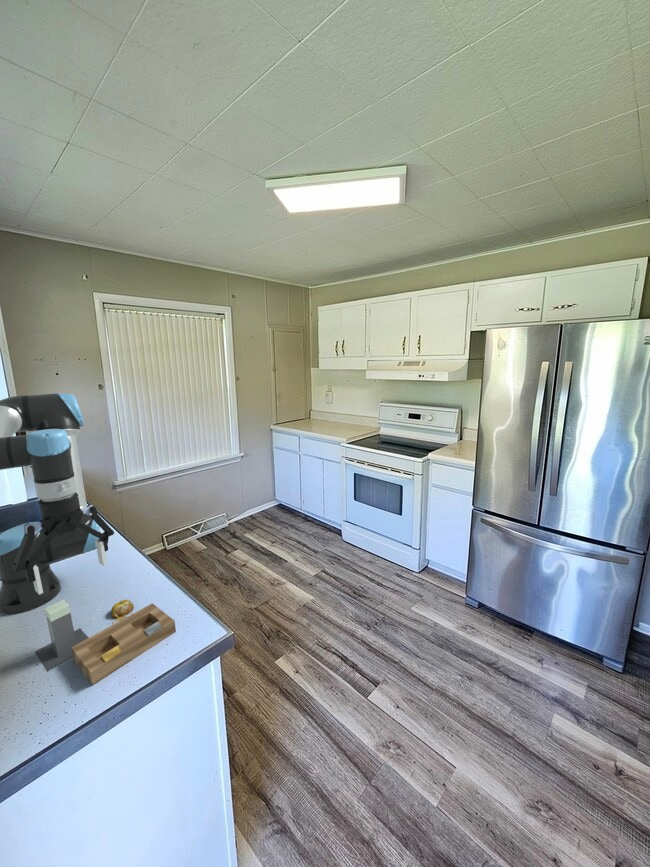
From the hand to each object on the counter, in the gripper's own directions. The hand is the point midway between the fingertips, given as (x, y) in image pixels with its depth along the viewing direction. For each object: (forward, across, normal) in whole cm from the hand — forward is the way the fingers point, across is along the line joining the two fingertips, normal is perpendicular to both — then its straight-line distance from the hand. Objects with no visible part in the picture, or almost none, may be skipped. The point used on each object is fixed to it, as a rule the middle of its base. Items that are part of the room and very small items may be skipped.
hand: (73, 577), depth 87 cm
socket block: (+20, +6, -9) cm, 23 cm away
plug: (+20, -3, +4) cm, 21 cm away
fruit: (+21, +11, +4) cm, 24 cm away
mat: (+20, -3, +4) cm, 21 cm away
